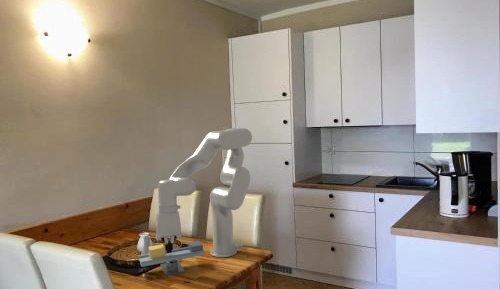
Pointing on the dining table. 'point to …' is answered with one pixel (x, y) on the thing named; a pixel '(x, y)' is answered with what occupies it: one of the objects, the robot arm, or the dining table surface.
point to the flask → (146, 245)
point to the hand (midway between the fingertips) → (169, 251)
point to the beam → (175, 254)
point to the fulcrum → (172, 268)
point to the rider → (156, 251)
